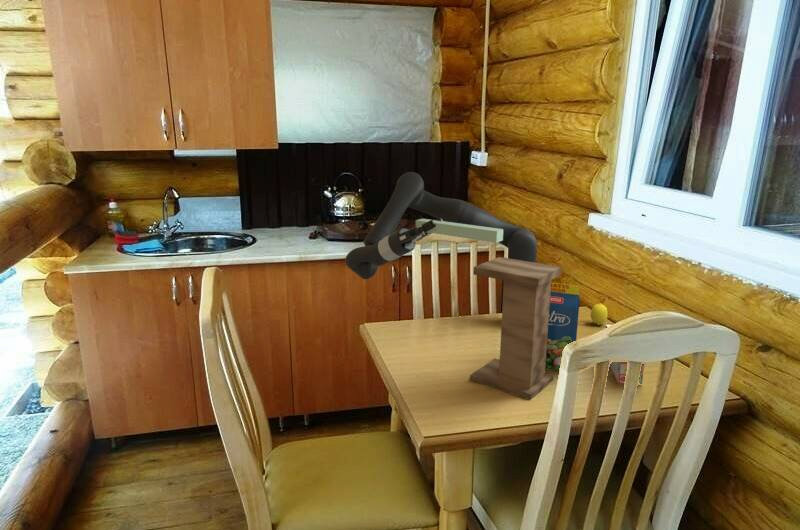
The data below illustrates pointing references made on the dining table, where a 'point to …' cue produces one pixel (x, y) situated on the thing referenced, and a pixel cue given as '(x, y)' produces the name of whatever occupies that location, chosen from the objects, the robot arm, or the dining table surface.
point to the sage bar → (464, 230)
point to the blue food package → (561, 322)
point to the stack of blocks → (623, 370)
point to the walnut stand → (520, 326)
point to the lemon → (599, 314)
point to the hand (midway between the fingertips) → (437, 222)
